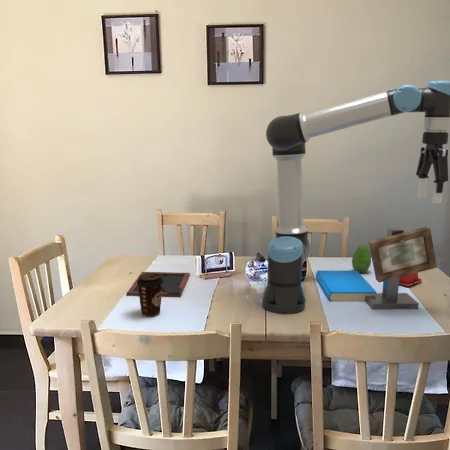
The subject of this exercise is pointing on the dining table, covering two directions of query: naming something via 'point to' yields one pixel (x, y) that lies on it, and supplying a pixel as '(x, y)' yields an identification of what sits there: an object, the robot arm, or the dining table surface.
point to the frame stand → (391, 291)
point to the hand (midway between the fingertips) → (428, 200)
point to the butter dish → (409, 279)
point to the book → (344, 285)
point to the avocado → (361, 259)
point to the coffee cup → (150, 294)
